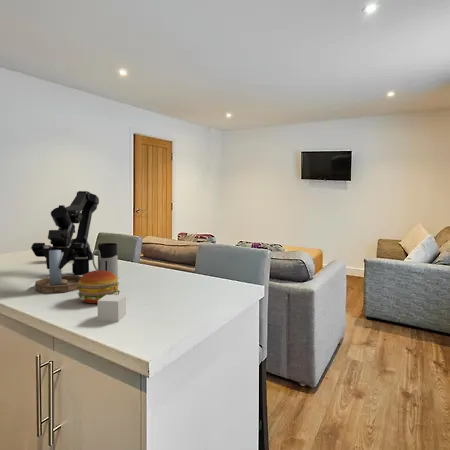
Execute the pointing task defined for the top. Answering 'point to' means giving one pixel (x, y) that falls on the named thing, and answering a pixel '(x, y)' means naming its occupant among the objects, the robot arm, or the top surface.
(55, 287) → the tray
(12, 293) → the top surface
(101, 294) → the burger
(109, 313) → the white cube
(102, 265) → the grey jug
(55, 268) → the peg
